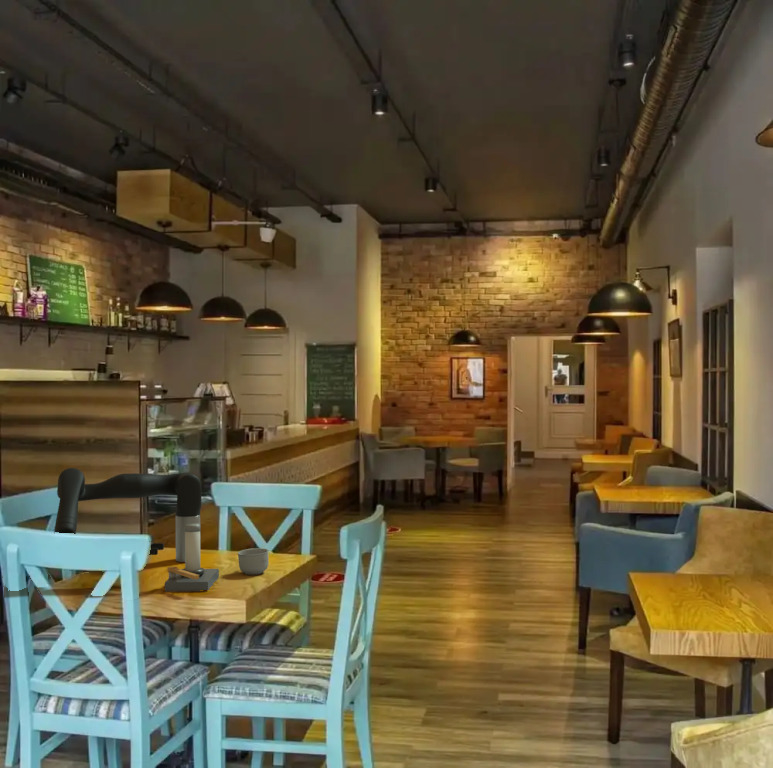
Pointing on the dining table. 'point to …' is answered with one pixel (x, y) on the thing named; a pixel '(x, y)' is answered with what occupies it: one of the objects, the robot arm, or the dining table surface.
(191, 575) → the clip
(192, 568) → the grey tall cylinder
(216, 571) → the grey flat block
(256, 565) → the teacup
